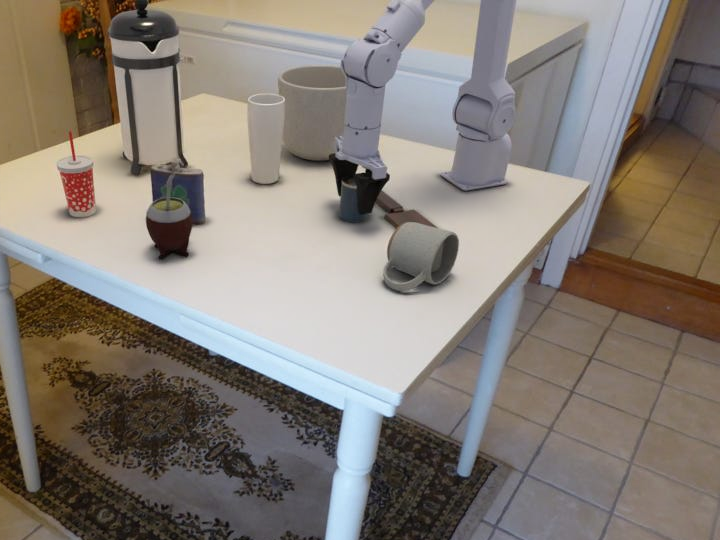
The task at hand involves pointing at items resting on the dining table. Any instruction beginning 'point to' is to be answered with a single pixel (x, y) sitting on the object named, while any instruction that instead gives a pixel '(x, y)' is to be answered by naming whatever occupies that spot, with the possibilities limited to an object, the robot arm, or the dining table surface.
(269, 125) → the drinking glass
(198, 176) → the flask
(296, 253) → the dining table surface
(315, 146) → the planter
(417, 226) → the ceramic mug
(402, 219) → the spatula
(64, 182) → the beverage cup
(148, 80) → the coffee press
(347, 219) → the tin
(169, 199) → the mate gourd
